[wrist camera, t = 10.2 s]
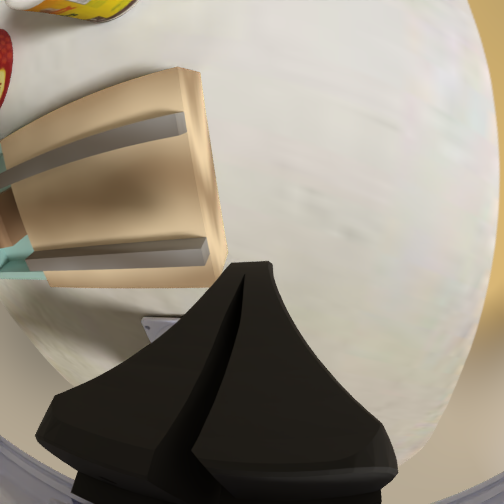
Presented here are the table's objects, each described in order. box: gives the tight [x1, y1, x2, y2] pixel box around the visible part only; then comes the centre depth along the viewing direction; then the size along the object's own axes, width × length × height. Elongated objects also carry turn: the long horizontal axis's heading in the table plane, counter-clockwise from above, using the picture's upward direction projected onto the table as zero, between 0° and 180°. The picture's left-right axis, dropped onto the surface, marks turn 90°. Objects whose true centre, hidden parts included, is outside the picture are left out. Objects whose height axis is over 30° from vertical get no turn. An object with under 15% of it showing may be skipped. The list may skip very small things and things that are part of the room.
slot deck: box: [0, 67, 228, 288], centre depth 16 cm, size 12×14×5 cm
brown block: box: [0, 187, 27, 249], centre depth 17 cm, size 4×4×3 cm
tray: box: [0, 143, 47, 280], centre depth 18 cm, size 12×11×3 cm
